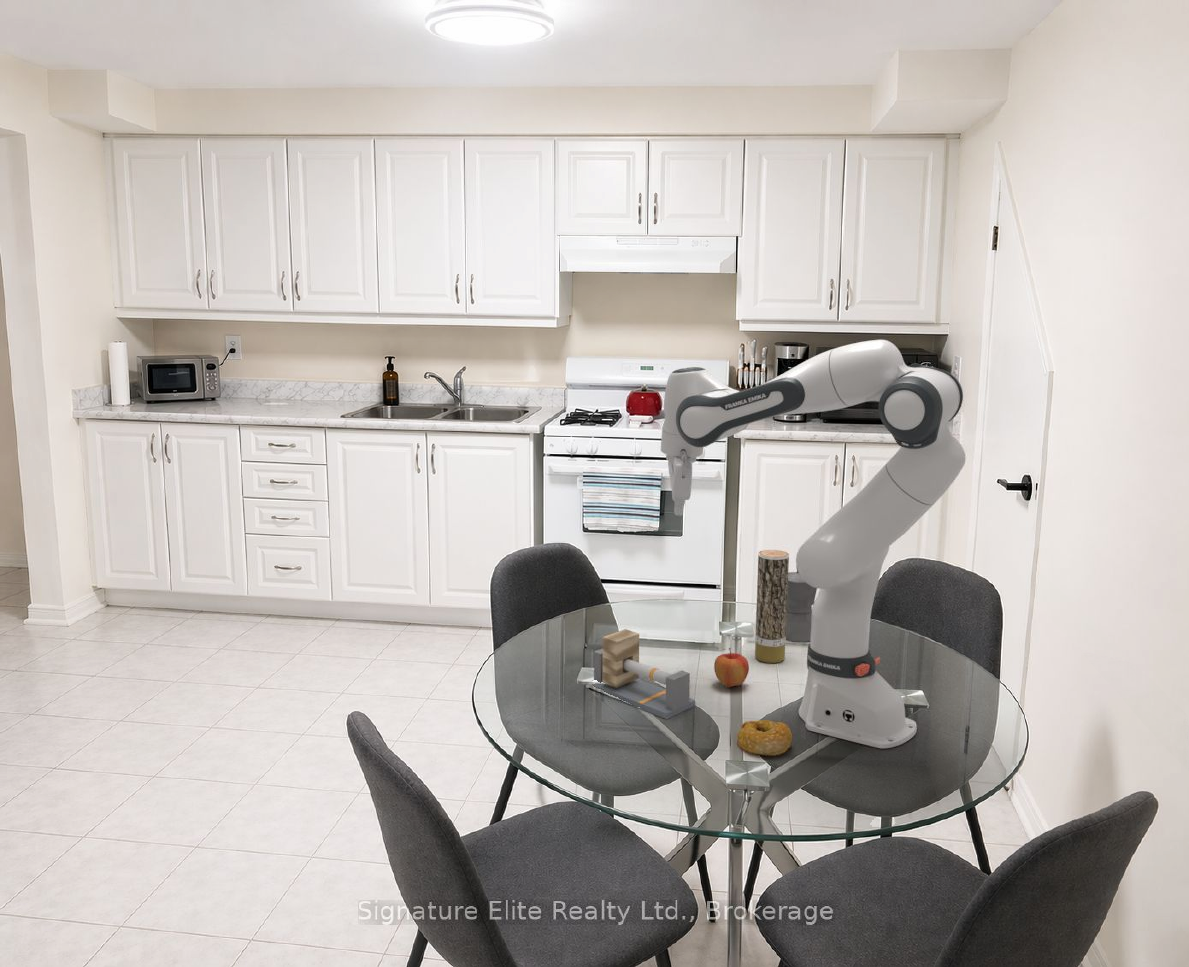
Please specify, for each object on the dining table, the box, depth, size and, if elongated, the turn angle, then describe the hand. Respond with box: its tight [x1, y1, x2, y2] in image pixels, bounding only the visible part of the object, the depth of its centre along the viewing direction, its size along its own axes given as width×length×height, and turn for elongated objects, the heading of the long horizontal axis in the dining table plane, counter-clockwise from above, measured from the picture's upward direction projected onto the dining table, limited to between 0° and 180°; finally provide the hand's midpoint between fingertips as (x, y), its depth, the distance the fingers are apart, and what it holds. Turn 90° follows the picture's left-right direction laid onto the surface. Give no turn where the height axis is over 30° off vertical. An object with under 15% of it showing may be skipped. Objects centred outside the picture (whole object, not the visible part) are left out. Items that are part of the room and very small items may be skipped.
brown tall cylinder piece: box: [754, 549, 790, 664], centre depth 217 cm, size 7×7×25 cm
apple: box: [713, 647, 750, 689], centre depth 203 cm, size 7×7×8 cm
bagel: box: [737, 719, 793, 757], centre depth 176 cm, size 10×11×5 cm
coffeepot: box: [786, 566, 818, 643], centre depth 232 cm, size 15×9×18 cm, turn 70°
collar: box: [602, 628, 640, 688], centre depth 200 cm, size 4×7×10 cm, turn 136°
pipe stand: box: [592, 648, 696, 720], centre depth 197 cm, size 22×9×8 cm, turn 46°
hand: (677, 507), depth 202 cm, fingers open, 8 cm apart
